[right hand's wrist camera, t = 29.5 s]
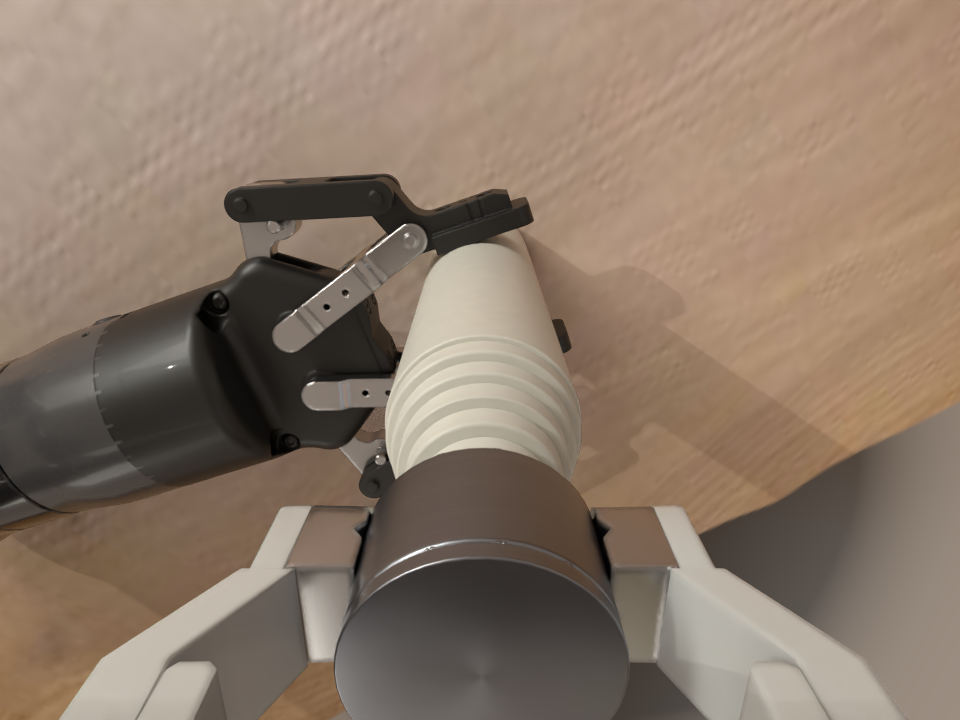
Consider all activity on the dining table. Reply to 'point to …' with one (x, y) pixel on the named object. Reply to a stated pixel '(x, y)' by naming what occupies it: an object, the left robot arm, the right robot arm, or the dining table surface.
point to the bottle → (483, 364)
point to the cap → (481, 599)
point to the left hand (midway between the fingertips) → (546, 273)
